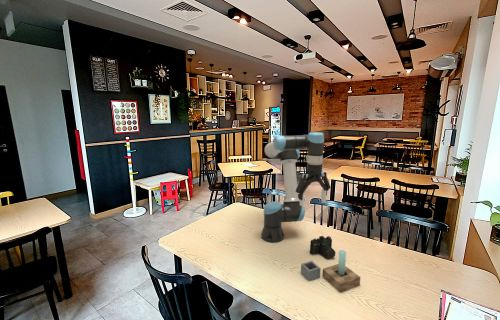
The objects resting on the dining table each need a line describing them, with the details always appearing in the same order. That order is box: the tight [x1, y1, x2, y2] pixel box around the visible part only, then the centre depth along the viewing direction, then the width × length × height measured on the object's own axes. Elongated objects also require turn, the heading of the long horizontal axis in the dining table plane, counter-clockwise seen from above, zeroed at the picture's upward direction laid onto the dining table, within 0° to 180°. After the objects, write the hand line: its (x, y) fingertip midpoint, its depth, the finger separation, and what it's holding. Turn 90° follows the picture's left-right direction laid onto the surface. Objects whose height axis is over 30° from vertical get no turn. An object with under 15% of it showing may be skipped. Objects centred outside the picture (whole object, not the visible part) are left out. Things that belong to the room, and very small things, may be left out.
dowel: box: [337, 249, 347, 277], centre depth 112 cm, size 3×3×16 cm
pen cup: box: [300, 260, 321, 282], centre depth 117 cm, size 7×7×6 cm
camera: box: [309, 235, 336, 260], centre depth 134 cm, size 14×11×10 cm
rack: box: [321, 263, 361, 294], centre depth 113 cm, size 12×12×5 cm
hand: (312, 203), depth 121 cm, fingers open, 13 cm apart
